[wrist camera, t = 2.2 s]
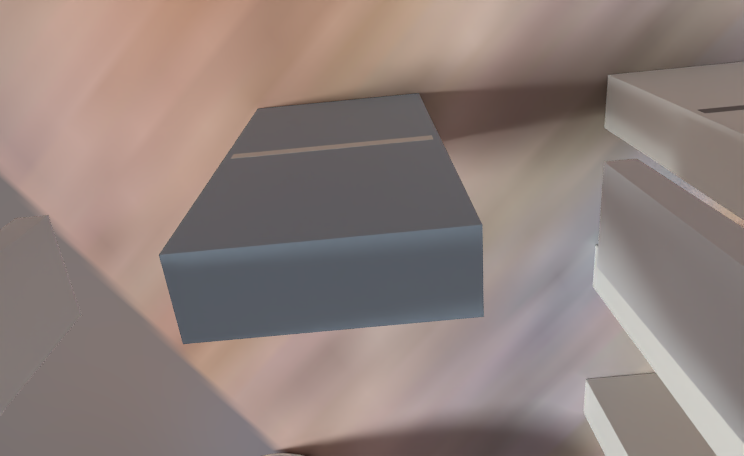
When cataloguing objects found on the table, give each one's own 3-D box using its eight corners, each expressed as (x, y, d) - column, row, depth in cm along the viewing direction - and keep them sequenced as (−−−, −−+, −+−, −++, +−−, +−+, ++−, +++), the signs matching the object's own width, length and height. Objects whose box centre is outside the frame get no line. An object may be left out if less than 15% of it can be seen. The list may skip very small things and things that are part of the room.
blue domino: (257, 108, 22) (159, 254, 11) (418, 92, 22) (482, 224, 11) (266, 160, 23) (182, 344, 12) (421, 145, 23) (483, 316, 12)
